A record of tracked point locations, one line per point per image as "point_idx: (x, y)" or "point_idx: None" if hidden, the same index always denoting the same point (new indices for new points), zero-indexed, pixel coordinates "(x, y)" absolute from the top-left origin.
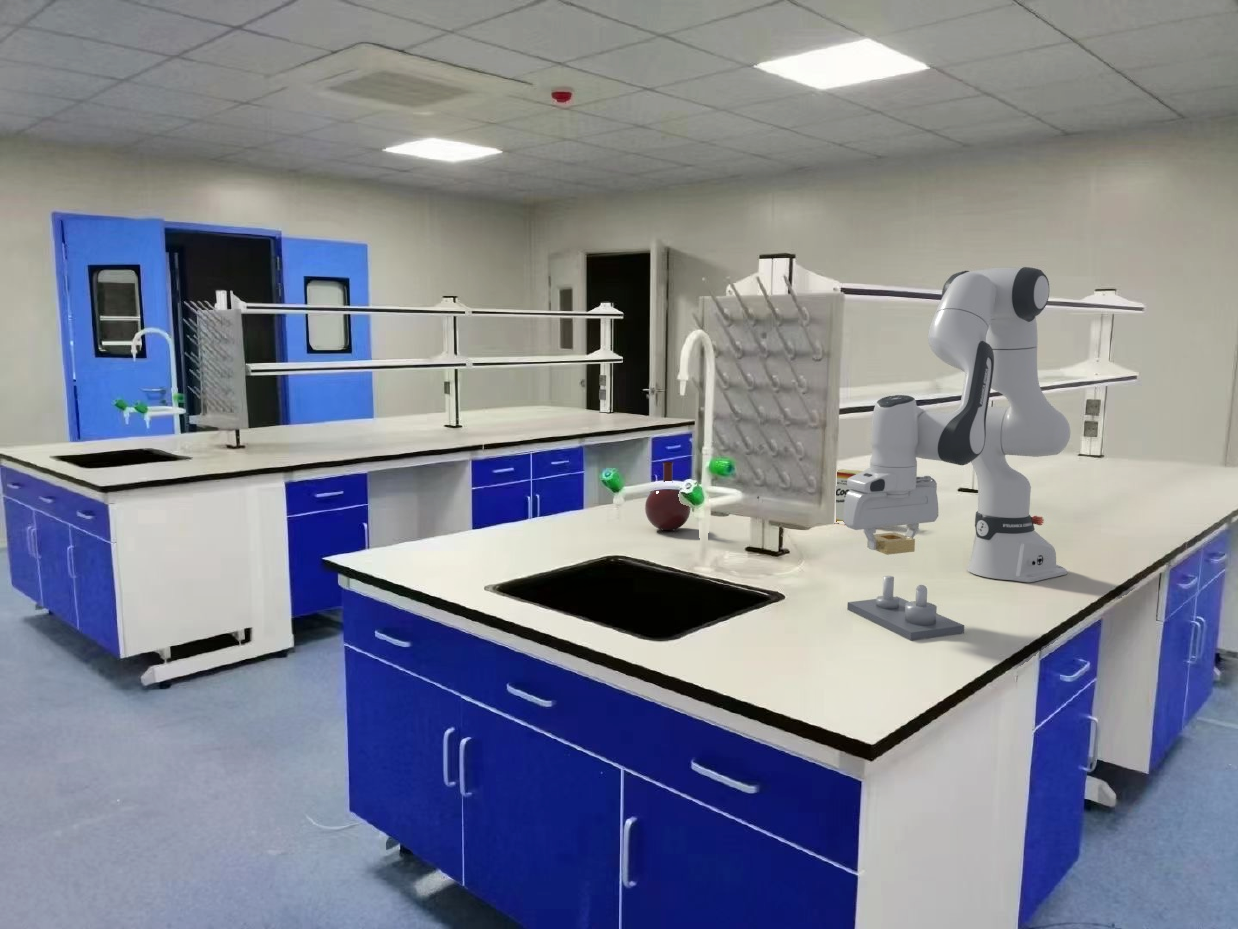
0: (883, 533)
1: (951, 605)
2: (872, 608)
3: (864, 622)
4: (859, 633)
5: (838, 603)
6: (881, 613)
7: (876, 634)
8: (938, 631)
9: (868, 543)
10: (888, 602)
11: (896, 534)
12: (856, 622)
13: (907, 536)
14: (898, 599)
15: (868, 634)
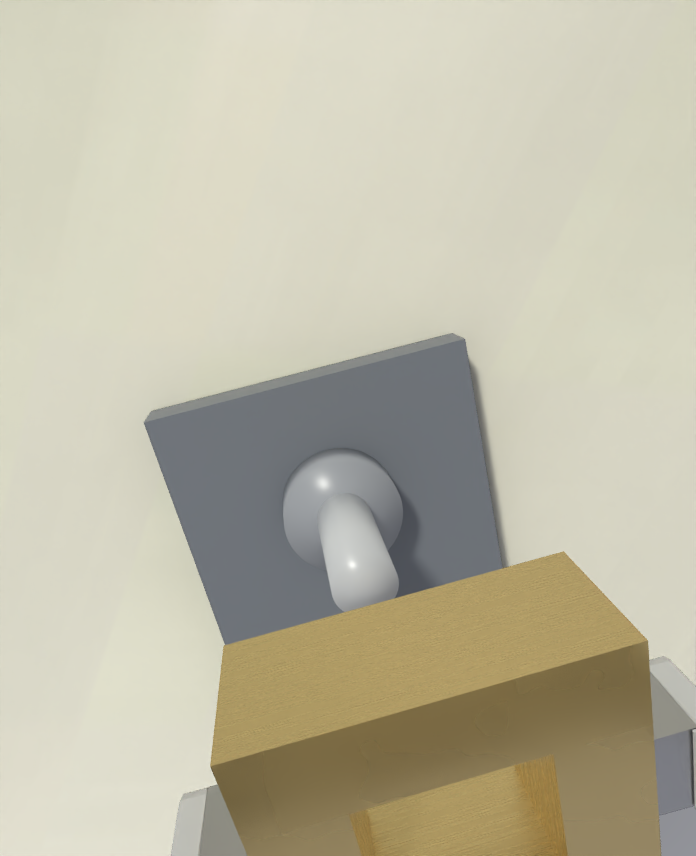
0: (471, 690)
1: (686, 388)
2: (246, 533)
3: (178, 599)
4: (111, 723)
5: (131, 294)
6: (261, 608)
7: (180, 732)
8: None
9: (174, 836)
10: (324, 568)
11: (601, 750)
12: (140, 598)
13: (693, 763)
14: (394, 532)
15: (146, 733)
